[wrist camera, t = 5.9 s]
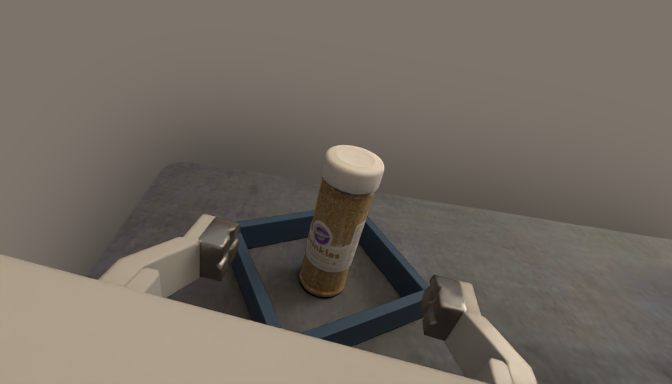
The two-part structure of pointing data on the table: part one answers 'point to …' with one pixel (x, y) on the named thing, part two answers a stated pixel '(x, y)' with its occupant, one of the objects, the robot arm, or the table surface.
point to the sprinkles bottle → (339, 217)
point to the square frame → (349, 327)
